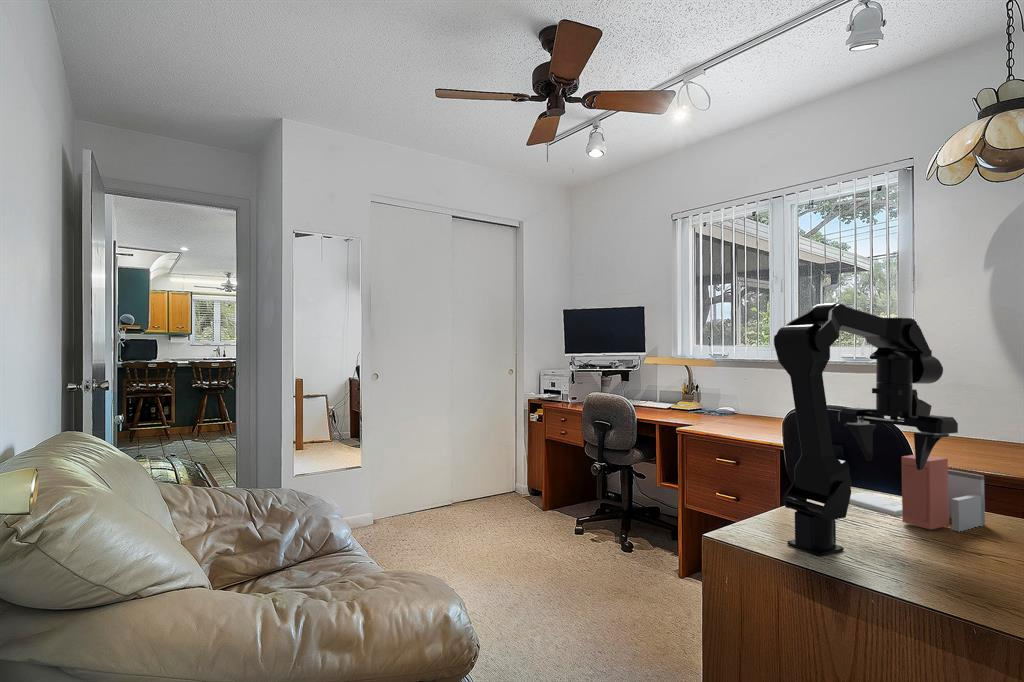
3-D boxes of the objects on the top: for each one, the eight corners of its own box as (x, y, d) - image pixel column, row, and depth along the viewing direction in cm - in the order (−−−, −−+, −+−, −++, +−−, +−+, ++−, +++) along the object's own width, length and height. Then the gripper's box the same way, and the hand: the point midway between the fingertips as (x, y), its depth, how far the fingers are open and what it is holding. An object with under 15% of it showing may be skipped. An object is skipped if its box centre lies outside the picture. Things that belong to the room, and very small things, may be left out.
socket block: (959, 532, 103) (958, 480, 103) (906, 518, 112) (905, 470, 112) (985, 525, 107) (984, 475, 107) (931, 512, 115) (931, 466, 115)
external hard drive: (864, 498, 128) (921, 513, 116) (840, 502, 125) (895, 518, 113) (864, 491, 128) (920, 505, 116) (840, 495, 125) (895, 510, 113)
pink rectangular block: (928, 530, 103) (927, 461, 103) (900, 522, 107) (899, 456, 107) (948, 525, 105) (947, 458, 106) (920, 517, 110) (919, 453, 110)
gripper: (974, 386, 99) (974, 472, 99) (871, 381, 116) (870, 454, 116) (939, 386, 95) (939, 476, 94) (837, 381, 112) (836, 456, 111)
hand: (893, 464), depth 104 cm, fingers open, 9 cm apart
